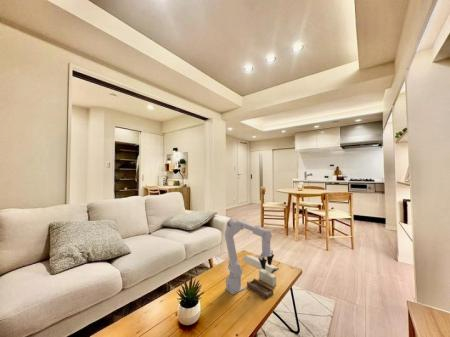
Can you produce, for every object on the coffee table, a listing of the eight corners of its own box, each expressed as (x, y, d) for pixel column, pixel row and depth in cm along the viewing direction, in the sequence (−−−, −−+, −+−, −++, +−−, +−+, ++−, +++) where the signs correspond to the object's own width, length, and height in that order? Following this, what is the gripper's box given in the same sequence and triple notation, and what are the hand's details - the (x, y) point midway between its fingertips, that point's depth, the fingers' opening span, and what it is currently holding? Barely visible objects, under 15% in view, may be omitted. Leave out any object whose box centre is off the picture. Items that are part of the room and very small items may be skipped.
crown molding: (279, 269, 146) (279, 264, 146) (269, 275, 139) (269, 270, 139) (251, 256, 169) (251, 252, 169) (241, 261, 161) (241, 256, 161)
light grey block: (272, 287, 124) (272, 277, 124) (259, 278, 133) (258, 270, 133) (276, 284, 126) (276, 275, 126) (262, 277, 135) (262, 268, 135)
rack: (265, 298, 112) (265, 294, 112) (247, 286, 125) (246, 282, 125) (273, 294, 116) (273, 289, 116) (254, 282, 129) (254, 278, 129)
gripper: (265, 251, 123) (265, 272, 123) (276, 245, 134) (277, 264, 133) (256, 248, 128) (256, 269, 128) (267, 242, 139) (268, 261, 138)
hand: (266, 266), depth 131 cm, fingers open, 7 cm apart
